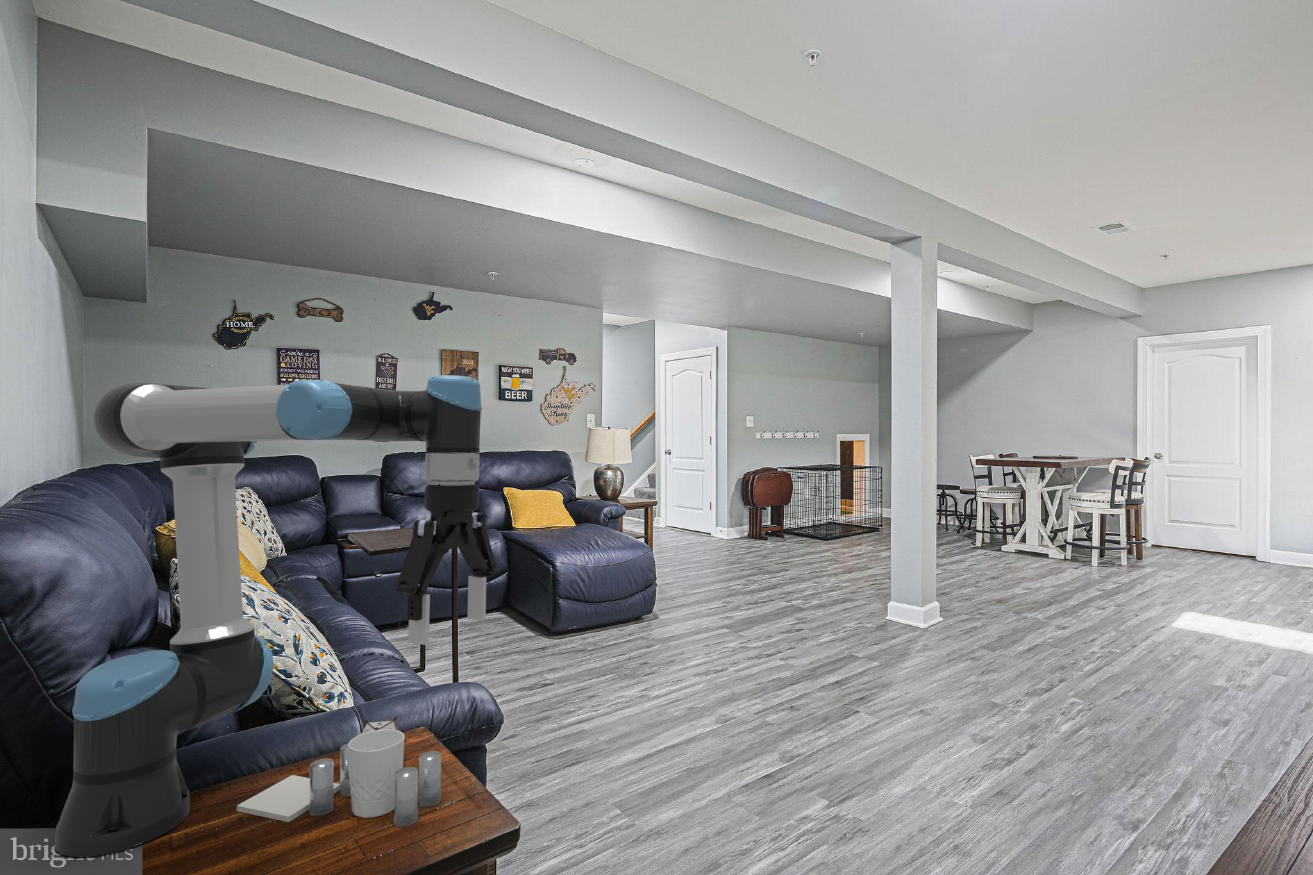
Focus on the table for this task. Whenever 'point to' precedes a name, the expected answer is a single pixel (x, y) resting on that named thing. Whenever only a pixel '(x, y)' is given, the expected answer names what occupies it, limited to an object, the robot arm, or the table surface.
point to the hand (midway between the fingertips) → (449, 630)
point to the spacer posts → (402, 786)
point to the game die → (380, 726)
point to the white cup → (374, 771)
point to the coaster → (282, 799)
